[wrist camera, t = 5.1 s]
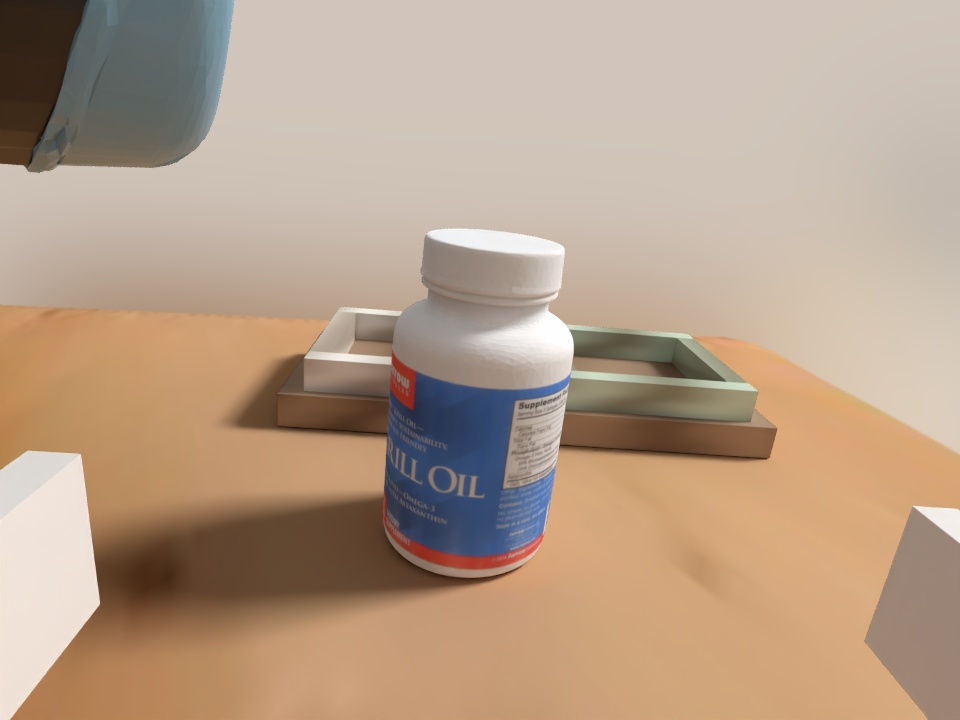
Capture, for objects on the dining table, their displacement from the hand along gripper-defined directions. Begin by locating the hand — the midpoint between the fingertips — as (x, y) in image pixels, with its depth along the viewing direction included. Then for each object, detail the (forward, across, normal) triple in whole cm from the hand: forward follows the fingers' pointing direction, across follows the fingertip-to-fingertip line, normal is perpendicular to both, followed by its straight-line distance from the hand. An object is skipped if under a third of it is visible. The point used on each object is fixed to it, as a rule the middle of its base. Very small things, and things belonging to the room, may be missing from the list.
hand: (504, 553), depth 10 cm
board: (+21, +3, -6) cm, 22 cm away
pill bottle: (+9, 0, -6) cm, 11 cm away
